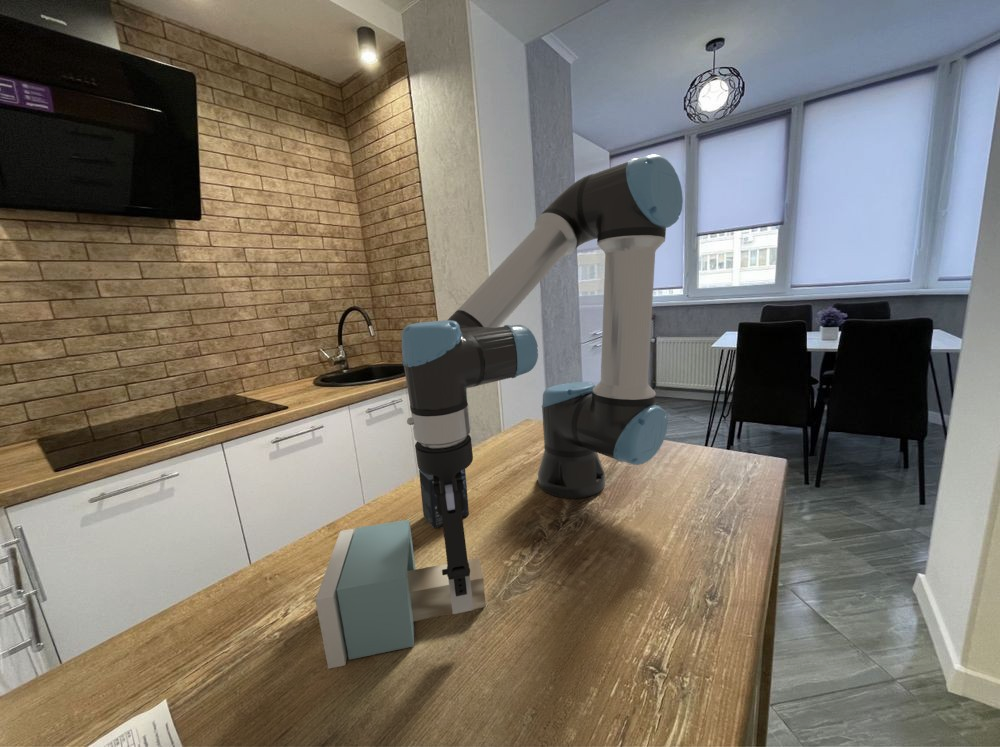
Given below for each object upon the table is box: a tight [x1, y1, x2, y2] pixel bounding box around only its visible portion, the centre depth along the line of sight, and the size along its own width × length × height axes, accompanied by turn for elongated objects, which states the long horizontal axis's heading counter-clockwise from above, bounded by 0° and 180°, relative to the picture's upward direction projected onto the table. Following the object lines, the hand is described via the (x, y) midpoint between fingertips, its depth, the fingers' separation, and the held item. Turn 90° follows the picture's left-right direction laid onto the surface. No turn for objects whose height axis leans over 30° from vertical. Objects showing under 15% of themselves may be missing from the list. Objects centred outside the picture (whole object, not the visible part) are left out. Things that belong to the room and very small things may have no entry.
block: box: [337, 519, 417, 660], centre depth 55 cm, size 8×13×10 cm, turn 10°
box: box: [418, 469, 470, 530], centre depth 79 cm, size 8×6×11 cm
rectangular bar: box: [407, 557, 487, 622], centre depth 57 cm, size 16×4×5 cm, turn 101°
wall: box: [314, 528, 355, 670], centre depth 54 cm, size 2×14×10 cm, turn 10°
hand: (458, 573), depth 57 cm, fingers open, 13 cm apart
